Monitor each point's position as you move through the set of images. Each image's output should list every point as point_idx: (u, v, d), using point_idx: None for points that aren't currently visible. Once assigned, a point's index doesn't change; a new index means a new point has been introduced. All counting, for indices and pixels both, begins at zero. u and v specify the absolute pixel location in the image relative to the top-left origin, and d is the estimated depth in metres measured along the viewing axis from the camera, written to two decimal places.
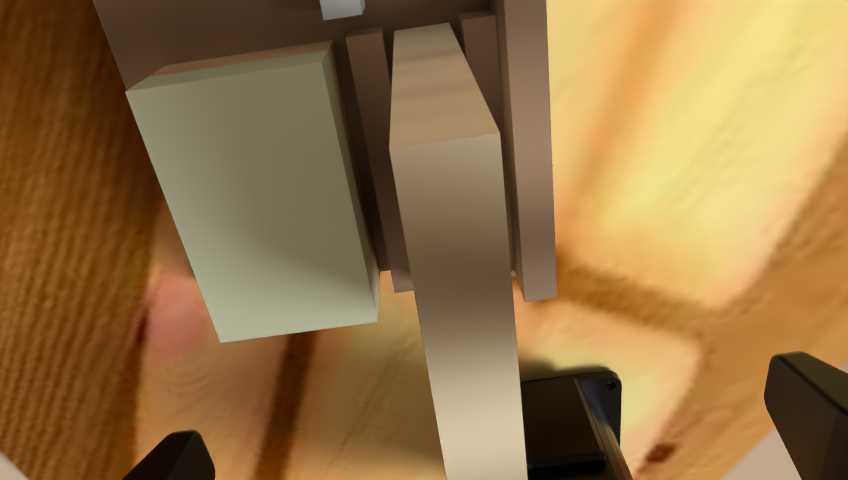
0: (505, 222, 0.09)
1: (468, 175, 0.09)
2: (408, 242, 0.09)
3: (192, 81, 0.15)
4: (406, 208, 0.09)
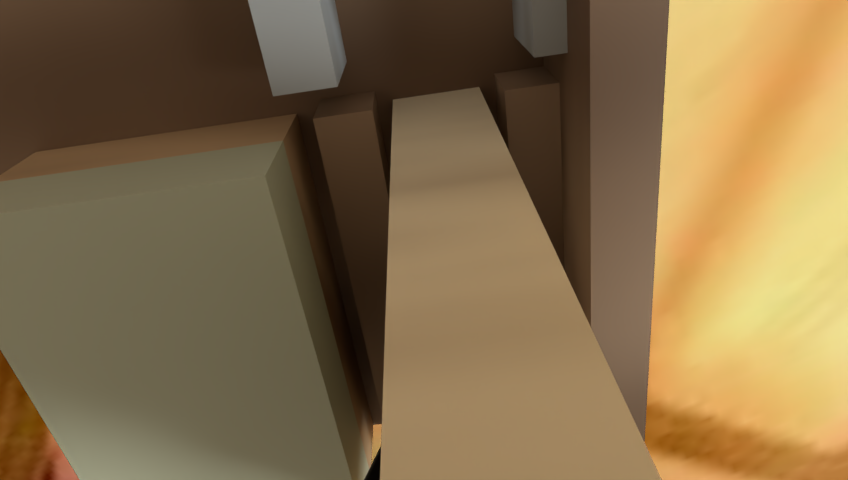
0: None
1: None
2: None
3: (41, 207, 0.09)
4: None
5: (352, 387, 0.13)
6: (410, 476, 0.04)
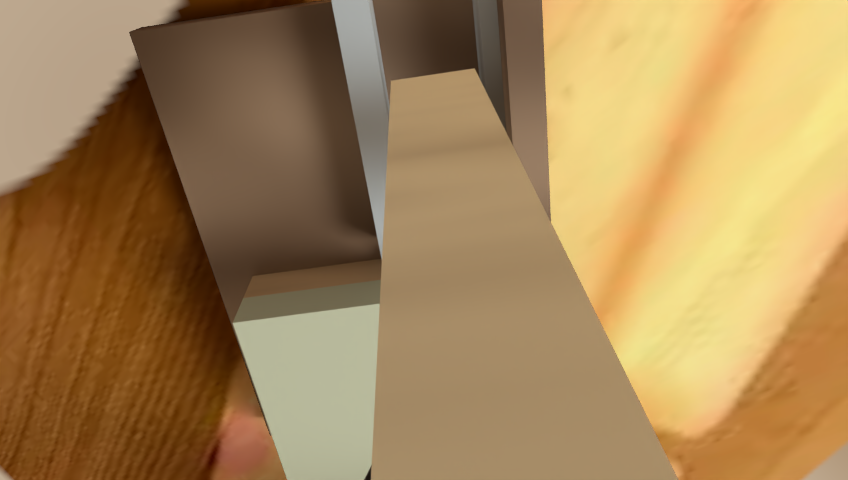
0: None
1: None
2: None
3: (284, 315, 0.20)
4: None
5: None
6: (403, 387, 0.04)
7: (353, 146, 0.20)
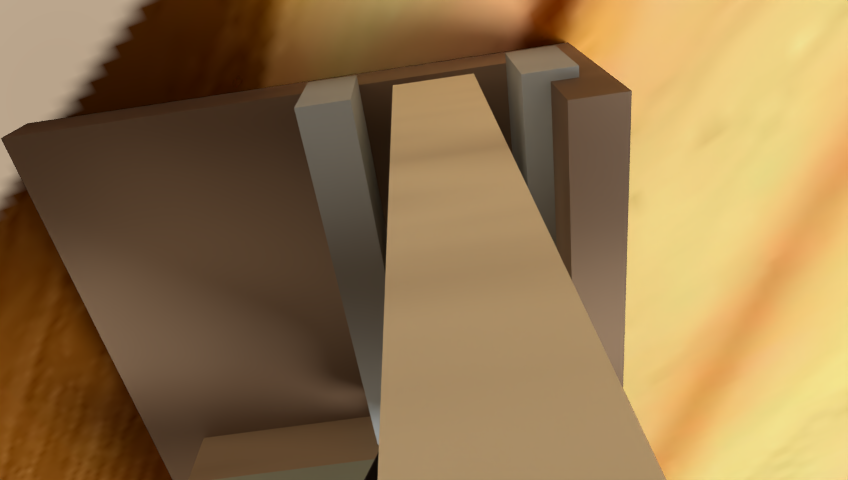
0: None
1: None
2: None
3: None
4: None
5: None
6: (407, 373, 0.04)
7: (336, 282, 0.14)
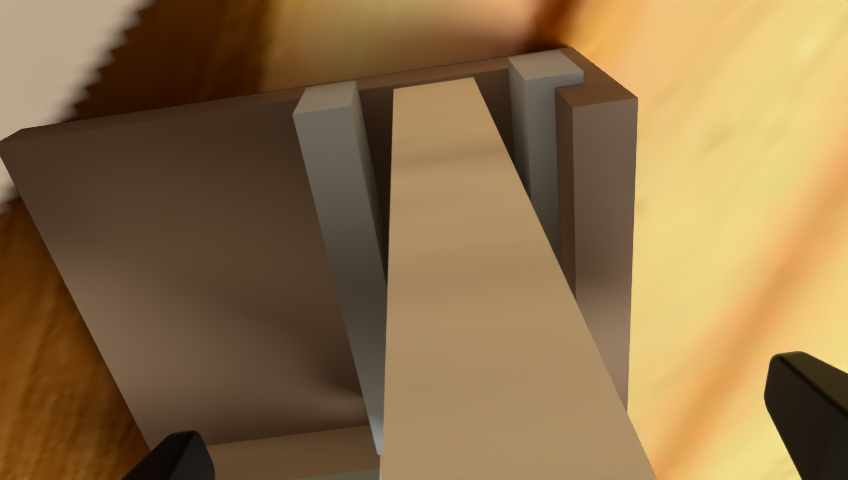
0: None
1: None
2: None
3: None
4: None
5: None
6: (409, 374, 0.04)
7: (335, 290, 0.14)
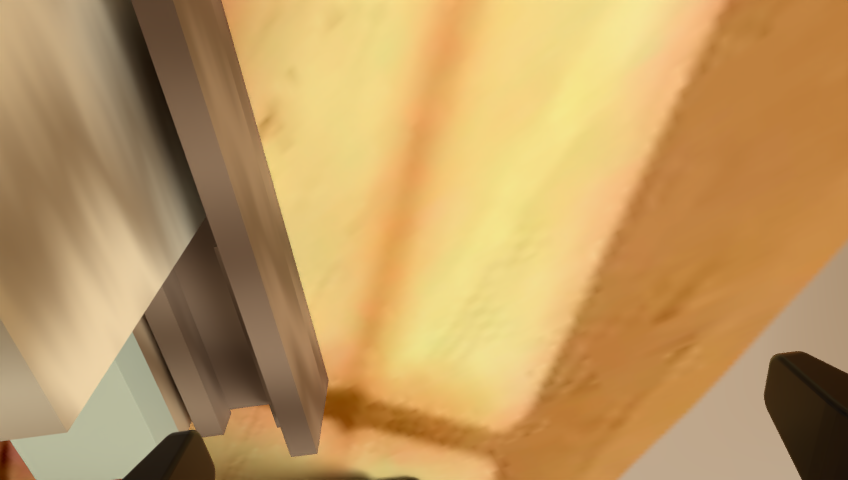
0: None
1: None
2: None
3: None
4: None
5: (166, 392, 0.23)
6: None
7: None
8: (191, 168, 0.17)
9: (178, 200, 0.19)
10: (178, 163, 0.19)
